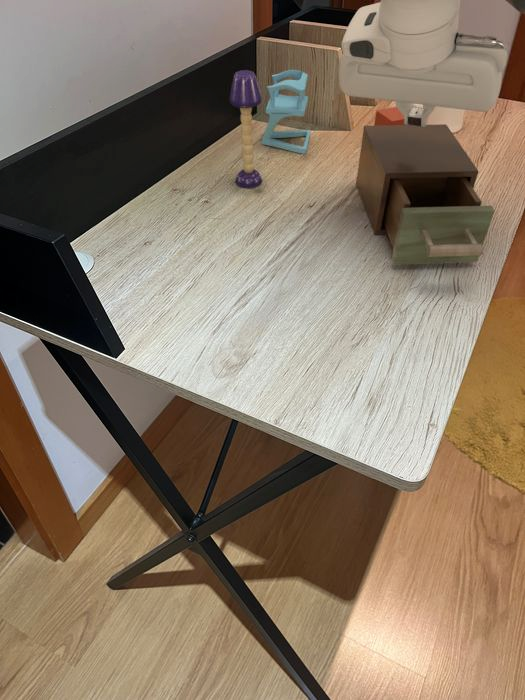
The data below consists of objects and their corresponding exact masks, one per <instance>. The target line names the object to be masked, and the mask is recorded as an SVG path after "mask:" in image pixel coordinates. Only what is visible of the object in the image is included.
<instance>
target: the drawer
mask: <svg viewBox="0 0 525 700" xmlns="http://www.w3.org/2000/svg"><path fill="white" fill-rule="evenodd" d="M495 211H496V210H495V209H494V207H493V206H492V205H482V200H481V198H480V197H479V195H478V194H477V192H476V191H475V189H474V188H472V186H471V184H470V183H469V181H468V180H467V178H466V177H429V178H390V183H389V188H388V194H387V199H386V204H385V210H384V215H383V220H382V221H383V224H384V226H385V229H386V231H387V236H388V239H389V241H390V243H391V246H392V248H393V249H392V254H391V262H392V265H417V264H418V265H419V264H420V265H421V264H451V263H453V264H455V263H477V262H478V260H479V258H480V256H482V255H483V253H484V243H485V240H486V237H487V234H488V232H489V228H490V226H491V223H492V220H493V217H494V214H495Z"/></svg>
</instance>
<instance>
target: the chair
mask: <svg viewBox="0 0 525 700" xmlns="http://www.w3.org/2000/svg"><path fill="white" fill-rule="evenodd" d="M271 78H272V81H273V84H272V85H267V86H266V89H267V91H268V94H269V100H268V103H267V105H266V106H265V107H266V108H265V115H266V114H268V117H269V118H268V122H267V125H266V127H265V129H264V132H263V135H262V138H261V145H264V146H270V147H274V148H277V149H282V150H286V151H289V152H294V153H298V154H302V155H306V154H307V152H308V146H309V142H310V137H311V130H309V129H297V130H281V131H274V130H275V129H276V127H277V125H278V123H279V122H280V121H281V120H282V119H284V118H289V117H294V116H295V117H303V118H304V117H305V113H306V109H307V105H308V101H309V96H307V95H306V88H307V85H308V80H309V74H307V73H306V72H304V71H301V70H297V69H288V70H285V71H282V72H279V73H277V74H271ZM285 78H293V79H285ZM282 79H285V80H282ZM280 80H281V81H280ZM278 81H279V82H278ZM281 90H289V91H292V92H294V93H296V94H297V95H285V94H279V92H280V91H281ZM299 137H305V138H304V142H303V146H300V145H297V144H294V143H293V144H292V143H289V142H285V141H282V140H278V139H285V138H299Z"/></svg>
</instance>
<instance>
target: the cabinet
mask: <svg viewBox="0 0 525 700" xmlns="http://www.w3.org/2000/svg"><path fill="white" fill-rule="evenodd" d="M478 175H479V169H478V168H477V167H476V165H475V164H474V162H473V161H472V159H471V158H470V156H469V155H468V153H467V152H466V150H465V149H464V148H463V146H462V145H461V143H460V142H459V140H458V139H457V137H456V136H455V134H454V133H452V132H451V131H450V129H449V128H448V126H447V125H446V124H443V125H426V126H425V127H420V126H413V125H384V126H374V125H363V131H362V138H361V145H360V152H359V160H358V166H357V174H356V180H355V186H356V188H357V191H358V194H359V197H360V200H361V202H362V204H363V208H364V210H365V213H366V216H367V218H368V221H369V223H370V226H371V229H372V232H373V234H374V236H379V235H380V236H381V235H382V236H384V235H387V236H388V234H387V231H386V229H385V226H384V224H383V221H382V220H383V215H384V210H385V204H386V199H387V194H388V188H389V183H390V178H429V177H466V178H467V180H468V181H469V183H470V184H471V186H472V188H473V189H474V188H475V185H476V181H477V179H478Z"/></svg>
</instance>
